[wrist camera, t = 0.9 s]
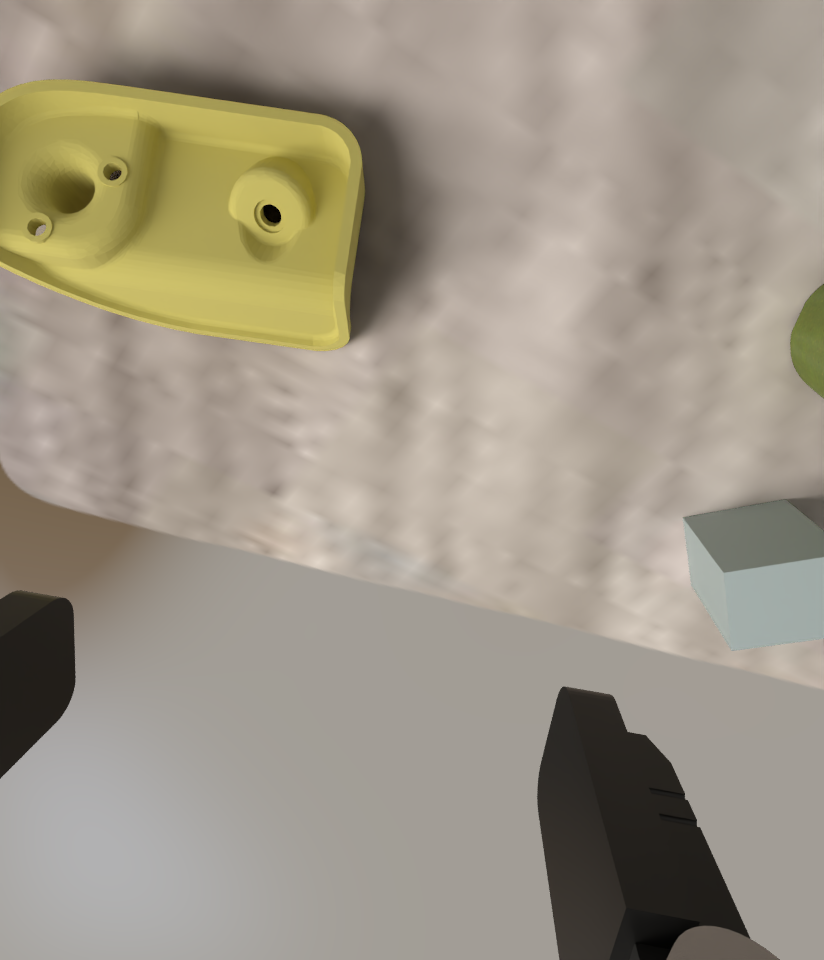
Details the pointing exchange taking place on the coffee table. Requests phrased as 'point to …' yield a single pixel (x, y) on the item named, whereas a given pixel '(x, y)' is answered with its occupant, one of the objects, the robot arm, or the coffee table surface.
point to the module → (759, 573)
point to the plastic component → (183, 209)
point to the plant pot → (810, 342)
